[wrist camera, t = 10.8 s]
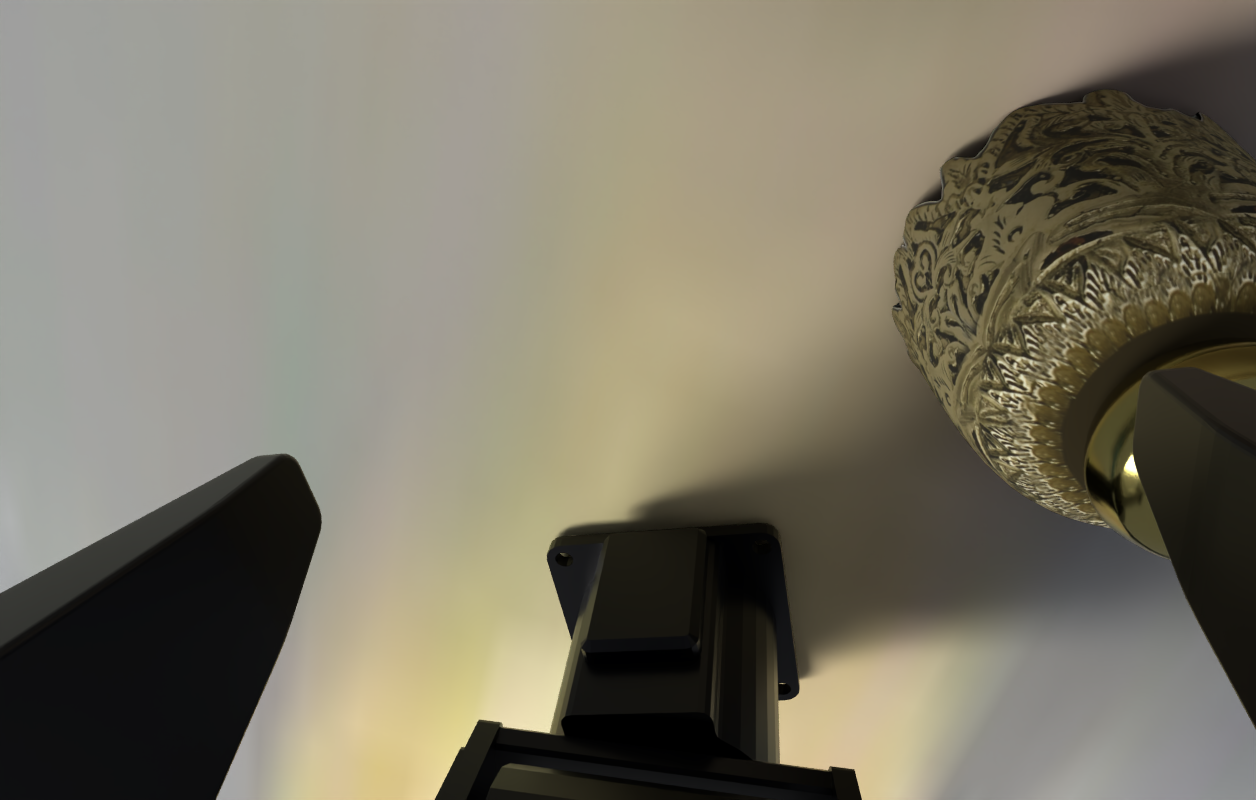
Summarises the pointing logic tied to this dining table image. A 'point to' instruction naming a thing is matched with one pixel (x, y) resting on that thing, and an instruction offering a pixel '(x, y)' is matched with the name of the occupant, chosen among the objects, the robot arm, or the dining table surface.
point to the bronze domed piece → (1080, 291)
